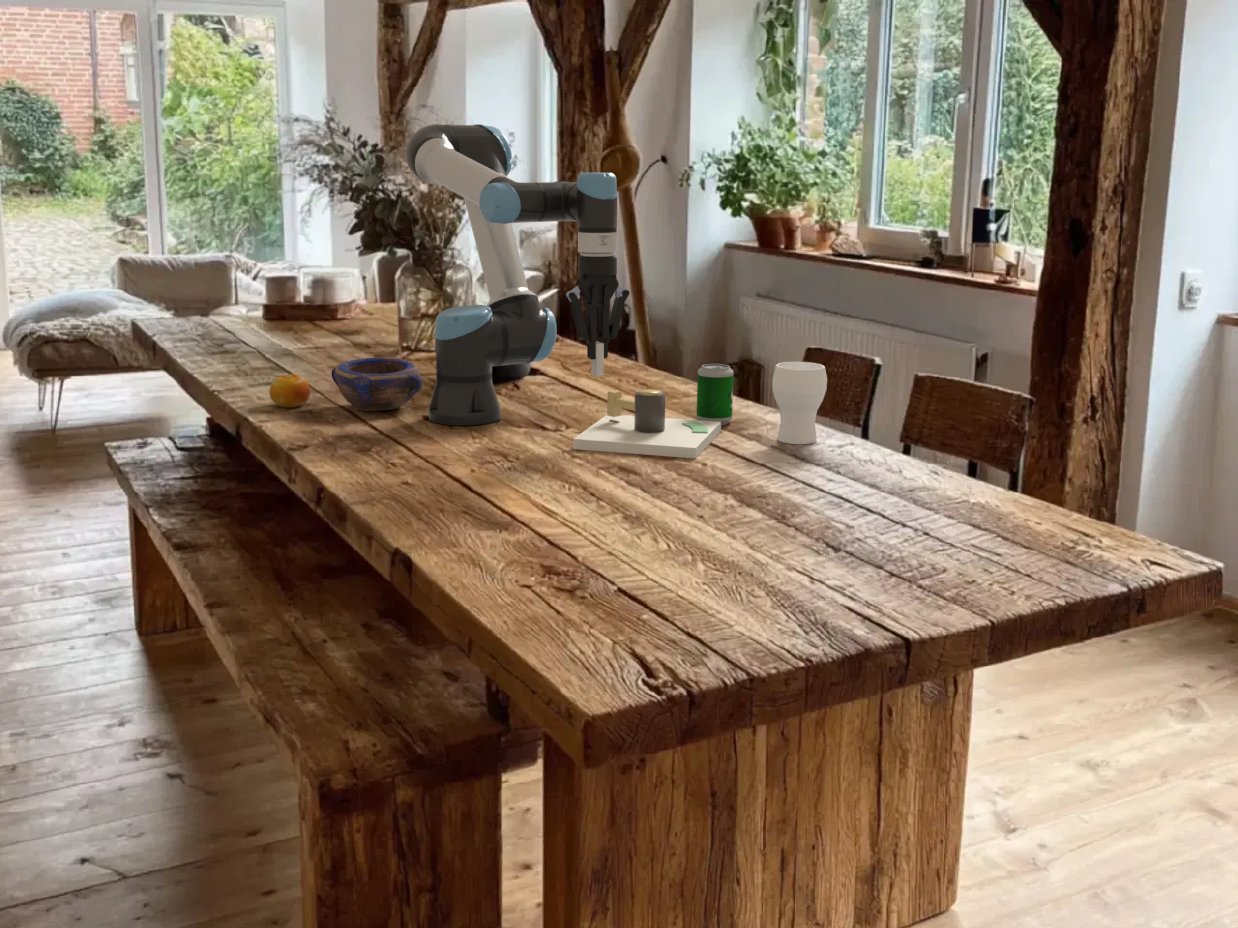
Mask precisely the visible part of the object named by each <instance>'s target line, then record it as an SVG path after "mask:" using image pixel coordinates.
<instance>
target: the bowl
mask: <svg viewBox="0 0 1238 928" xmlns="http://www.w3.org/2000/svg"><path fill="white" fill-rule="evenodd" d="M330 375H331V378H332V380H333V382H334V383H335V385H336V386H337V387H338V390H339V392H340V394H341V395H342V396H343V398H344V399H345V400H346V401H347V403H349V404H350V405H352V406H353V407H354V408H356V409H358V410H360V411H368V412H375V411H386V410H387V411H388V410H396V409H399V408H400V407H402V406H404V405H406V403H408V402H409V401H410V400H411V399H413V397H414V396H415V395H416V394H417V393H419V391H420V390H421V389H422V388H423V386H424V383H423V382H424V380H423V377H422V376H421V374H420V373H419V369H418V367H417V365H415V363H413V362H411V361H409V360H406V359H401V358H397V357H389V356H388V357H386V356H383V357H382V356H381V357H380V356H379V357H378V356H377V357H363V358H362V357H361V358H355V359H350V360H346V361H343V362H341V363H339V364H337V365H336V366H335V367H333V368H332V370H331V373H330Z"/></svg>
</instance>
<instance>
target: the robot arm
mask: <svg viewBox="0 0 1238 928" xmlns="http://www.w3.org/2000/svg"><path fill="white" fill-rule="evenodd" d="M405 147H406V148H405V151H404V153H405V162H406V165H407V167H408V169H409V170H410V172H411V173H412V174H413V175H414V176H415V177H417V178H418V179H419V180H421V181H423V182H425V183H427V184H430V185H440V186H442V187H444V188H446V189H447V190H449V191H452V192H453V193H455V194H457V195H458V196H460V197H462V198H463V199H464V202H465V207H466V211H467V215H468V219H469V222H470V227H471V230H472V231H471V232H472V234H473V238H474V243H475V246H476V250H477V254H478V258H479V262H480V266H481V270H482V273H483V278H484V281H485V285H486V289H487V293H488V297H489V300H488V302H487V303H486V304H485V305H484V304H470V305H467V304H466V305H460V306H454V307H451V308H447V309H445V310H442V311H441V312H439V313H438V315H436V318H435V324H434V325H435V327H434V335H433V336H434V341H435V347H434V348H435V370H436V373H435V374H436V375H435V376H436V379H435V380H436V383H435V386H434V390H433V393H432V396H431V400H430V403H429V407H428V420H429V421H431V422H433V423H436V424H439V425H448V426H478V425H485V424H492V423H494V422H498V421H499V420H501V419H502V408H501V405H500V402H499V398H498V396H497V393H496V389H495V386H494V384H493V367H499V366H510V365H519V364H526V365H529V364H531V363H535V362H541V361H544V360H545V359H547V358H548V357H550V355H551V353H552V352H553V350H554V348H555V343H556V340H557V331H558V329H557V321H556V317H555V315H554V313H553V312H552V311H551V309H550V308H548V307H546V306H541V305H540V300H539V297H538V295H537V294H536V293H534V292H532V291H531V290H530V289H529V286H528V282H527V279H526V274H525V271H524V267H523V263H522V260H521V256H520V252H519V247H518V245H517V240H516V237H515V233H514V229H513V225H512V224H516V223H517V224H518V223H521V224H522V223H545V222H546V223H547V222H550V223H551V222H577V252H578V253H579V254H580V255H578V258H577V274H578V278H577V281H576V284H575V286H574V288H572V289H571V290H566V291H565V293H564V295H565V298H566V299H567V301H568V302H569V304H570V308H571V312H572V317H573V321H574V326H575V330H576V334H577V338H578V339H579V340H581V341H584V342H586V346H587V348H586V349H587V350H586V351H587V354H586V355H587V356H586V357H587V359H588V360H591V362H590V363H591V365H590V366H591V372H590V373H591V375H592V376H594V377H597V378H599V377H605V368H604V367H605V363H604V362H605V361H604V360H605V359H606V360H607V359H608V356H609V355H608V353H609V352H608V351H609V344H610V342H611V341H612V340H616V339H617V338H618V334H619V330H620V325H621V320H622V316H623V311H624V306H625V302H626V301H627V299H628V297H629V296H630V290H628V289H625V288H623V287H622V286H620V285H619V281H618V278H617V275H618V257H617V256H616V255H614V254H615V253H617V252H618V231H617V229H618V228H617V227H618V196H619V193H618V187H617V186H618V185H617V182H618V181H617V177H616V175H615V174H614V173H613V172H580V173H579V174H578V176H577V182H573V181H572V182H570V181H567V180H566V181H564V180H562V181H559V180H557V181H554V182H553V181H551V182H549V181H548V182H547V181H545V182H542V181H541V182H540V181H539V182H518V181H515V180H513V179H510V178H509V177H508V175H509V174H510V172H511V169H512V165H513V163H512V159H513V157H512V148H511V146H510V143H509V141H508V138H507V137H506V135H505V134H504V132H502V131H501V130H500V129H499V128H496V127H495V126H492V125H483V124H477V123H476V124H472V125H471V124H470V125H469V124H467V125H466V124H438V123H437V124H429V125H426V126H424V127H423V126H422V127H421V128H420V129H418V130H416V131H415V132H414V133H413V134H412V136H411V137H410V138H409V140H408V142H407V144H406V146H405ZM580 295H581V296H582V298H583V299H584V301H585V302H584V305H585V306H584V307H585V308H586V310H585V313H586V315H585V318H586V319H585V318H584V313H583V307H582V304H581V302H580V298H581V296H580ZM613 295H614V296H615V297H614V300H613V302H612V309H611V313H610V307H611V299H612V298H613ZM597 315H598V316H597ZM597 326H598V327H597ZM597 334H598V335H597ZM597 340H599V341H597Z"/></svg>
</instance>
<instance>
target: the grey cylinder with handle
mask: <svg viewBox="0 0 1238 928" xmlns="http://www.w3.org/2000/svg"><path fill="white" fill-rule="evenodd" d="M622 393H623V392H622V391H620V390H616V389H612V390H607V400H606V402H607V407H606V408H607V414H606V415H607V416H611V417H617V416H621V415H622V409H625V410H630V411H634V416H635V420H634V429H635V430H638V431H643V432H658V431H663V430H664V429H665V418H666V393H665V392H663V391H661V390H658V389H641V390H638V391H636V392H635V393H634V399H629V398H625V397H622Z"/></svg>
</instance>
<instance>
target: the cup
mask: <svg viewBox="0 0 1238 928" xmlns="http://www.w3.org/2000/svg"><path fill="white" fill-rule="evenodd" d="M771 382H772V383H771V384H772V385H771V386H772V388H771V389H772V392H773V396H774V399H775V400H774V401H775V402H776V405H777V406H778V409H779V418H780V424H779V427H778V428H779V429H778V432H777V433H778V434H777V437H776V439H777V440H778V441H779V442H781V443H784V444H793V445H809V444H814V443H816V442H817V441H818V440H817V430H816V418H817V413H818V410H819V409H820V407H821V405H822V402H823V401H824V398H825V396H826V393H827V387H828V375H827V371H826V367H825V365H823V364H821V363H818V362H817V363H816V362H811V361H810V362H808V361H784V362H779V363H777V364H776V365H775V367H774V372H773V375H772V381H771Z"/></svg>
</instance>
